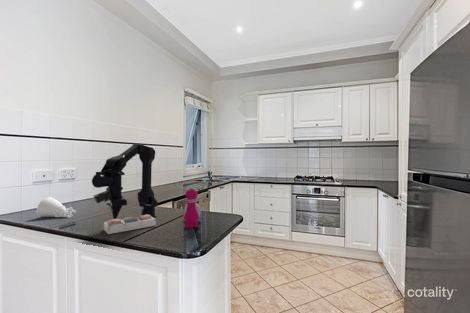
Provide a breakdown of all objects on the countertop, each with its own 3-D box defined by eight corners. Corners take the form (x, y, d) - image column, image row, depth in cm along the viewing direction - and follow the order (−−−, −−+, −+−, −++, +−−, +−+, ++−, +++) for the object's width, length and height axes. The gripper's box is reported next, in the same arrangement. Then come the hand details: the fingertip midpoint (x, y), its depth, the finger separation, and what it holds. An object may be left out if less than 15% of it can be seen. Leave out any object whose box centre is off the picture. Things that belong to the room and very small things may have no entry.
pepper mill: (184, 224, 122) (185, 185, 122) (199, 224, 122) (199, 184, 122) (183, 228, 114) (183, 186, 115) (198, 228, 115) (198, 186, 115)
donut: (201, 220, 130) (201, 201, 130) (198, 222, 126) (198, 203, 127) (186, 218, 133) (186, 200, 134) (182, 220, 130) (182, 201, 130)
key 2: (148, 218, 124) (148, 214, 124) (151, 219, 121) (151, 215, 121) (138, 219, 121) (138, 215, 121) (141, 221, 118) (141, 217, 118)
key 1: (118, 222, 115) (118, 218, 115) (121, 224, 112) (121, 220, 112) (108, 224, 112) (108, 220, 112) (110, 226, 109) (110, 222, 109)
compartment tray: (149, 221, 127) (149, 215, 127) (155, 225, 120) (155, 218, 120) (103, 229, 113) (103, 222, 113) (108, 234, 106) (108, 226, 106)
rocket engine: (77, 200, 137) (49, 193, 140) (61, 216, 129) (32, 208, 131) (83, 212, 145) (58, 205, 148) (69, 228, 137) (42, 220, 139)
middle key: (133, 220, 120) (133, 216, 120) (136, 222, 116) (136, 218, 116) (124, 221, 117) (124, 217, 117) (126, 223, 113) (126, 219, 113)
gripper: (91, 184, 114) (91, 217, 114) (99, 188, 100) (99, 226, 100) (117, 183, 121) (116, 214, 121) (127, 186, 107) (127, 221, 107)
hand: (114, 218), depth 112 cm, fingers closed
